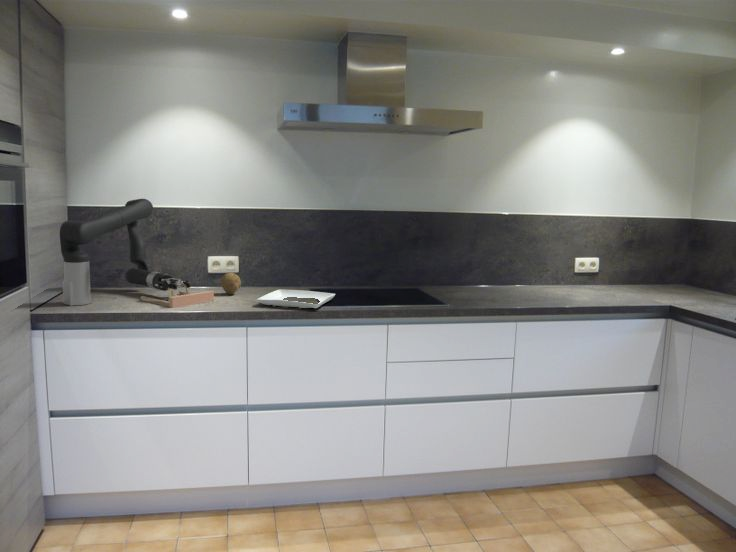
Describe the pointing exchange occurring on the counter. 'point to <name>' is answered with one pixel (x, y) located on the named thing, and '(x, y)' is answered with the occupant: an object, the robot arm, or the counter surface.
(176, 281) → the ring
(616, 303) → the counter surface
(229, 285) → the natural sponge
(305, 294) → the square plate
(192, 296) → the bar
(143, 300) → the birch track
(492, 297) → the counter surface
